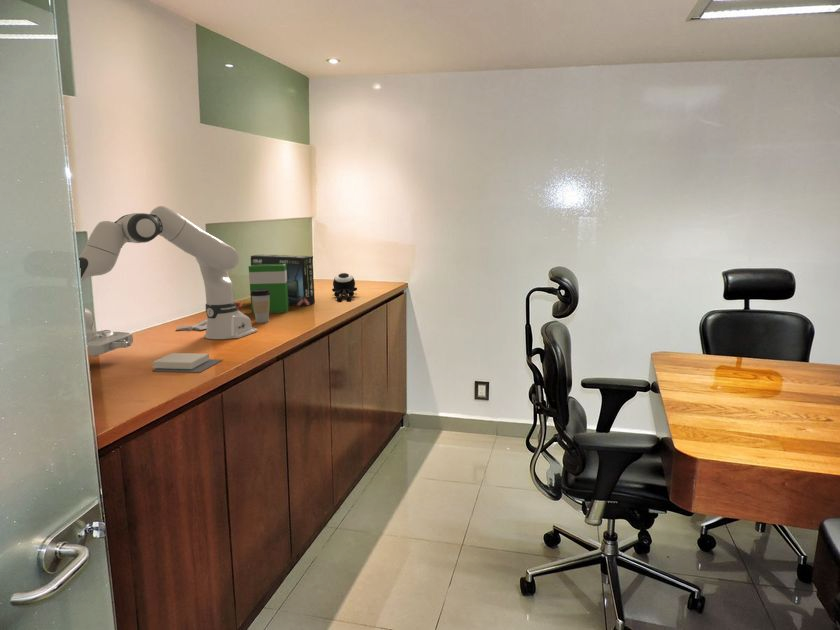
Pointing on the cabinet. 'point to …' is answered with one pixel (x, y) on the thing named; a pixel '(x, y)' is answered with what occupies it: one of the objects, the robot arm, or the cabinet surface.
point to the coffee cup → (261, 304)
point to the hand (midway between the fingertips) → (128, 344)
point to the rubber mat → (194, 370)
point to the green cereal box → (271, 284)
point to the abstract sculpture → (344, 286)
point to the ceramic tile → (180, 361)
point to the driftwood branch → (196, 327)
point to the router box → (293, 276)
